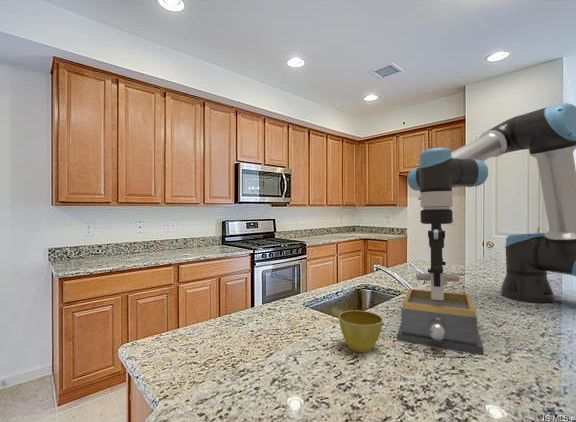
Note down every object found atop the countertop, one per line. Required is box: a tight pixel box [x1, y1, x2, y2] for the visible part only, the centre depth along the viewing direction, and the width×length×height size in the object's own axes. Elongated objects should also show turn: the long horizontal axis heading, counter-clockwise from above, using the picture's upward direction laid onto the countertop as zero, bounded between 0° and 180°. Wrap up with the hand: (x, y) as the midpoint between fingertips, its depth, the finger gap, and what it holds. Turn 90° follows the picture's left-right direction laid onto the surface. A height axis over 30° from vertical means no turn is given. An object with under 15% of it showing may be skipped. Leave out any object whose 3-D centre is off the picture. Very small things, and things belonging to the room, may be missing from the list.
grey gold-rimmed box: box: [396, 288, 484, 355], centre depth 77 cm, size 18×22×9 cm
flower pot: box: [338, 309, 384, 353], centre depth 71 cm, size 10×10×7 cm
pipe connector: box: [415, 266, 461, 287], centre depth 79 cm, size 10×10×10 cm
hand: (437, 293), depth 79 cm, fingers closed on pipe connector, 10 cm apart
